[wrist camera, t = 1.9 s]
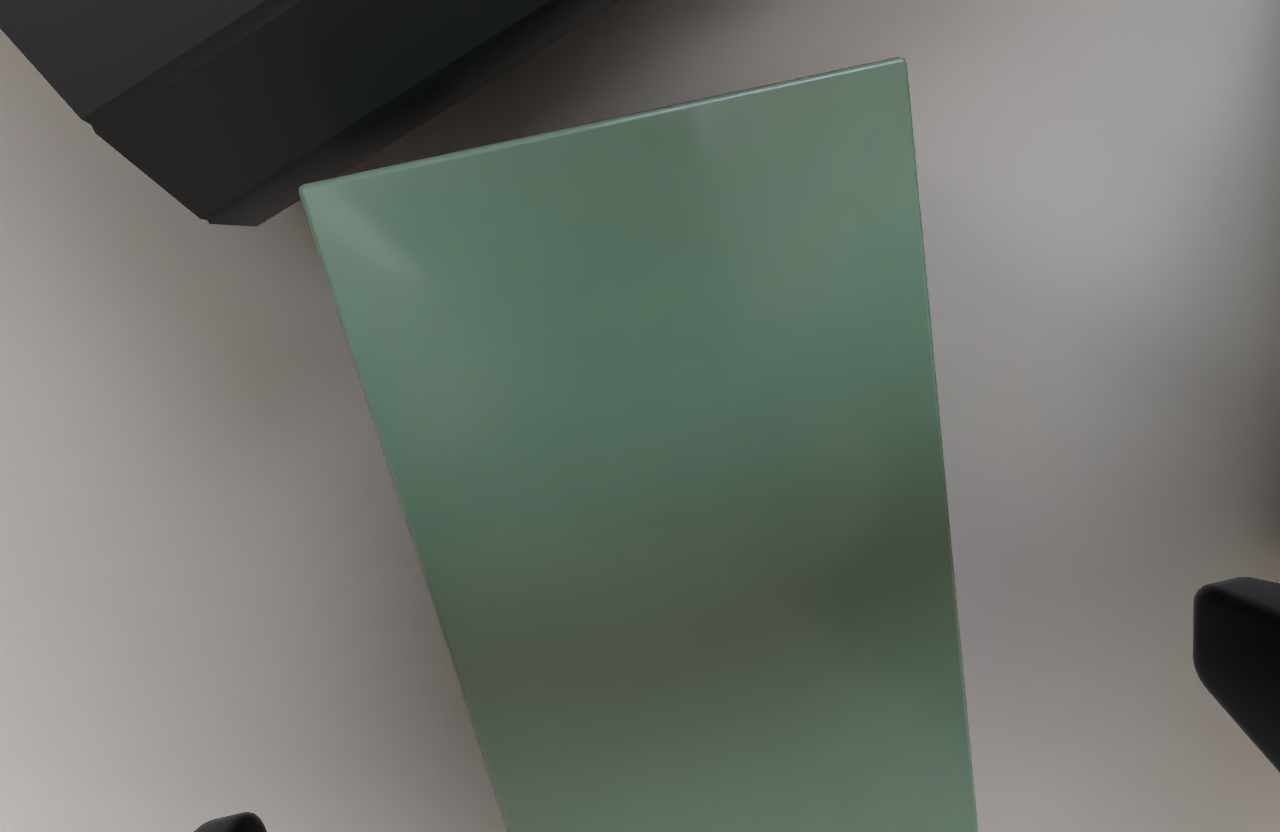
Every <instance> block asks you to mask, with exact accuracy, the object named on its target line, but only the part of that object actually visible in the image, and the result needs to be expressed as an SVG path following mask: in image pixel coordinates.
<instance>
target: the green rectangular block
mask: <svg viewBox="0 0 1280 832" xmlns="http://www.w3.org/2000/svg"><path fill="white" fill-rule="evenodd" d="M299 196H300V199H301V202H302V205H303V208H304V211H305V214H306V217H307V220H308V223H309V226H310V229H311V232H312V236H313V239H314V242H315V245H316V248H317V251H318V254H319V257H320V260H321V263H322V266H323V269H324V272H325V275H326V278H327V281H328V284H329V288H330V291H331V294H332V297H333V300H334V303H335V306H336V309H337V312H338V315H339V318H340V321H341V324H342V327H343V330H344V333H345V336H346V340H347V343H348V346H349V349H350V352H351V355H352V358H353V361H354V364H355V367H356V370H357V373H358V376H359V379H360V382H361V385H362V388H363V392H364V395H365V398H366V401H367V404H368V407H369V410H370V413H371V416H372V419H373V422H374V425H375V428H376V431H377V434H378V437H379V440H380V444H381V447H382V450H383V453H384V456H385V459H386V462H387V465H388V468H389V471H390V474H391V477H392V480H393V483H394V486H395V489H396V492H397V495H398V499H399V502H400V505H401V508H402V511H403V514H404V517H405V520H406V523H407V526H408V529H409V532H410V535H411V538H412V541H413V544H414V547H415V551H416V554H417V557H418V560H419V563H420V566H421V569H422V572H423V575H424V578H425V581H426V584H427V587H428V590H429V593H430V596H431V599H432V603H433V606H434V609H435V612H436V615H437V618H438V621H439V624H440V627H441V630H442V633H443V636H444V639H445V642H446V645H447V648H448V651H449V655H450V658H451V661H452V664H453V667H454V670H455V673H456V676H457V679H458V682H459V685H460V688H461V691H462V694H463V697H464V700H465V703H466V707H467V710H468V713H469V716H470V719H471V722H472V725H473V728H474V731H475V734H476V737H477V740H478V743H479V746H480V749H481V752H482V755H483V758H484V762H485V765H486V768H487V771H488V774H489V777H490V780H491V783H492V786H493V789H494V792H495V795H496V798H497V801H498V804H499V807H500V810H501V814H502V817H503V820H504V823H505V826H506V829H507V832H978V826H977V815H976V804H975V793H974V783H973V772H972V761H971V750H970V740H969V729H968V718H967V708H966V697H965V686H964V675H963V665H962V654H961V643H960V632H959V622H958V611H957V600H956V589H955V579H954V568H953V557H952V546H951V536H950V525H949V514H948V504H947V493H946V482H945V471H944V461H943V450H942V439H941V428H940V418H939V407H938V396H937V385H936V375H935V364H934V353H933V343H932V332H931V321H930V310H929V300H928V289H927V278H926V267H925V257H924V246H923V235H922V224H921V214H920V203H919V192H918V181H917V171H916V160H915V149H914V139H913V128H912V117H911V106H910V96H909V85H908V74H907V63H906V61H905V59H904V58H901V57H896V58H891V59H886V60H882V61H877V62H872V63H868V64H863V65H858V66H854V67H849V68H844V69H840V70H835V71H830V72H825V73H821V74H816V75H811V76H807V77H802V78H797V79H793V80H788V81H783V82H779V83H774V84H769V85H765V86H760V87H755V88H751V89H746V90H741V91H737V92H732V93H727V94H723V95H718V96H713V97H708V98H704V99H699V100H694V101H690V102H685V103H680V104H676V105H671V106H666V107H662V108H657V109H652V110H648V111H643V112H638V113H634V114H629V115H624V116H620V117H615V118H610V119H606V120H601V121H596V122H591V123H587V124H582V125H577V126H573V127H568V128H563V129H559V130H554V131H549V132H545V133H540V134H535V135H531V136H526V137H521V138H517V139H512V140H507V141H503V142H498V143H493V144H489V145H484V146H479V147H474V148H470V149H465V150H460V151H456V152H451V153H446V154H442V155H437V156H432V157H428V158H423V159H418V160H414V161H409V162H404V163H400V164H395V165H390V166H386V167H381V168H376V169H372V170H367V171H362V172H357V173H353V174H348V175H343V176H339V177H334V178H329V179H325V180H320V181H315V182H311V183H306V184H303V185H302V186H300V187H299Z"/></svg>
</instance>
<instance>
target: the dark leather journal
mask: <svg viewBox="0 0 1280 832" xmlns="http://www.w3.org/2000/svg"><path fill="white" fill-rule="evenodd" d="M619 1H621V0H0V28H1V29H2V31H3V32H4V33H5V34H6V35H7V36H8V37H9V38H10V40H11V41H12V42H13V43H14V44H15V45H16V46H17V47H18V49H19V50H20V51H21V52H22V53H23V54H24V55H25V56H26V58H27V59H28V60H29V61H30V62H31V63H32V64H33V65H34V67H35V68H36V69H37V70H38V71H39V72H40V73H41V74H42V76H43V77H44V78H45V79H46V80H47V81H48V82H49V83H50V85H51V86H52V87H53V88H54V89H55V90H56V91H57V92H58V94H59V95H60V96H61V97H62V98H63V99H64V100H65V101H66V103H67V104H68V105H69V106H70V107H71V108H72V109H73V110H74V112H75V113H76V114H77V115H78V116H79V117H80V118H81V119H82V120H84V121H86V122H87V123H89V124H91V126H92V127H93V129H94V131H95V133H96V134H97V135H99V136H100V137H101V138H102V139H103V140H105V141H106V142H107V143H108V144H110V145H111V146H112V147H113V148H114V149H116V150H117V151H118V152H119V153H121V154H122V155H123V156H124V157H125V158H127V159H128V160H129V161H130V162H132V163H133V164H134V165H135V166H136V167H138V168H139V169H140V170H141V171H143V172H144V173H145V174H146V175H147V176H149V177H150V178H151V179H152V180H154V181H155V182H156V183H157V184H158V185H160V186H161V187H162V188H163V189H165V190H166V191H167V192H168V193H169V194H171V195H172V196H173V197H174V198H176V199H177V200H178V201H179V202H180V203H182V204H183V205H184V206H185V207H187V208H188V209H189V210H190V211H191V212H193V213H194V214H195V215H196V216H198V217H199V218H200V219H204V220H207V221H208V222H209V224H222V225H240V226H258V225H260V224H262V223H263V222H265V221H267V220H268V219H270V218H271V217H273V216H275V215H276V214H278V213H279V212H281V211H283V210H284V209H286V208H287V207H289V206H291V205H292V204H294V203H296V202H297V201H299V200H300V196H299V187H300V186H302V185H303V184H306V183H311V182H315V181H320V180H325V179H329V178H334V177H337V176H339V175H341V174H342V173H344V172H345V171H347V170H349V169H350V168H352V167H353V166H355V165H357V164H358V163H360V162H362V161H363V160H365V159H366V158H368V157H370V156H371V155H373V154H374V153H376V152H378V151H379V150H381V149H382V148H384V147H386V146H387V145H389V144H390V143H392V142H394V141H395V140H397V139H399V138H400V137H402V136H403V135H405V134H407V133H408V132H410V131H411V130H413V129H415V128H416V127H418V126H419V125H421V124H423V123H424V122H426V121H428V120H429V119H431V118H432V117H434V116H436V115H437V114H439V113H440V112H442V111H444V110H445V109H447V108H448V107H450V106H452V105H453V104H455V103H456V102H458V101H460V100H461V99H463V98H465V97H466V96H468V95H469V94H471V93H473V92H474V91H476V90H477V89H479V88H481V87H482V86H484V85H485V84H487V83H489V82H490V81H492V80H494V79H495V78H497V77H498V76H500V75H502V74H503V73H505V72H506V71H508V70H510V69H511V68H513V67H514V66H516V65H518V64H519V63H521V62H522V61H524V60H526V59H527V58H529V57H531V56H532V55H534V54H535V53H537V52H539V51H540V50H542V49H543V48H545V47H547V46H548V45H550V44H551V43H553V42H555V41H556V40H558V39H560V38H561V37H563V36H564V35H566V34H568V33H569V32H571V31H572V30H574V29H576V28H577V27H579V26H580V25H582V24H584V23H585V22H587V21H588V20H590V19H592V18H593V17H595V16H597V15H598V14H600V13H601V12H603V11H605V10H606V9H608V8H609V7H611V6H613V5H614V4H616V3H617V2H619Z"/></svg>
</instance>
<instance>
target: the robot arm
mask: <svg viewBox="0 0 1280 832" xmlns="http://www.w3.org/2000/svg"><path fill="white" fill-rule="evenodd" d="M1193 661H1194V665H1195V669H1196V671H1197V674H1198V676H1199V678H1200V680H1201V681H1202V683H1203V684H1204V686H1205V687H1206V688H1207V690H1208V691H1209V692H1210V693H1211V694H1212V695H1213V697H1214V698H1215V699H1216V700H1217V701H1218V702H1219V703H1220V705H1221V706H1222V707H1223V708H1224V709H1225V710H1226V712H1227V713H1228V714H1229V715H1230V716H1231V717H1232V718H1233V720H1234V721H1235V722H1236V723H1237V724H1238V725H1239V726H1240V728H1241V729H1242V730H1243V731H1244V732H1245V733H1246V734H1247V736H1248V737H1249V738H1250V739H1251V740H1252V741H1253V742H1254V744H1255V745H1256V746H1257V747H1258V748H1259V749H1260V750H1261V752H1262V753H1263V754H1264V755H1265V756H1266V757H1267V758H1268V760H1269V761H1270V762H1271V763H1272V764H1273V765H1274V766H1275V768H1276V769H1277V770H1278V771H1279V772H1280V584H1278V583H1273V582H1269V581H1264V580H1259V579H1255V578H1249V577H1238V578H1233V579H1229V580H1225V581H1220V582H1216V583H1212V584H1208V585H1205V586H1203V587H1202V588H1200V589H1199V590H1198V591H1197V593H1196V595H1195V597H1194V613H1193ZM194 832H267V831H266V829H265V826H264V824H263V822H262V821H261V819H260V818H259V817H258V816H257V815H256V814H254V813H250V812H244V813H239V814H235V815H231V816H227V817H222V818H218V819H214V820H211V821H208V822H206V823H204V824H203V825H201V826H200V827H199V828H198V829H196V830H195V831H194Z"/></svg>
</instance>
